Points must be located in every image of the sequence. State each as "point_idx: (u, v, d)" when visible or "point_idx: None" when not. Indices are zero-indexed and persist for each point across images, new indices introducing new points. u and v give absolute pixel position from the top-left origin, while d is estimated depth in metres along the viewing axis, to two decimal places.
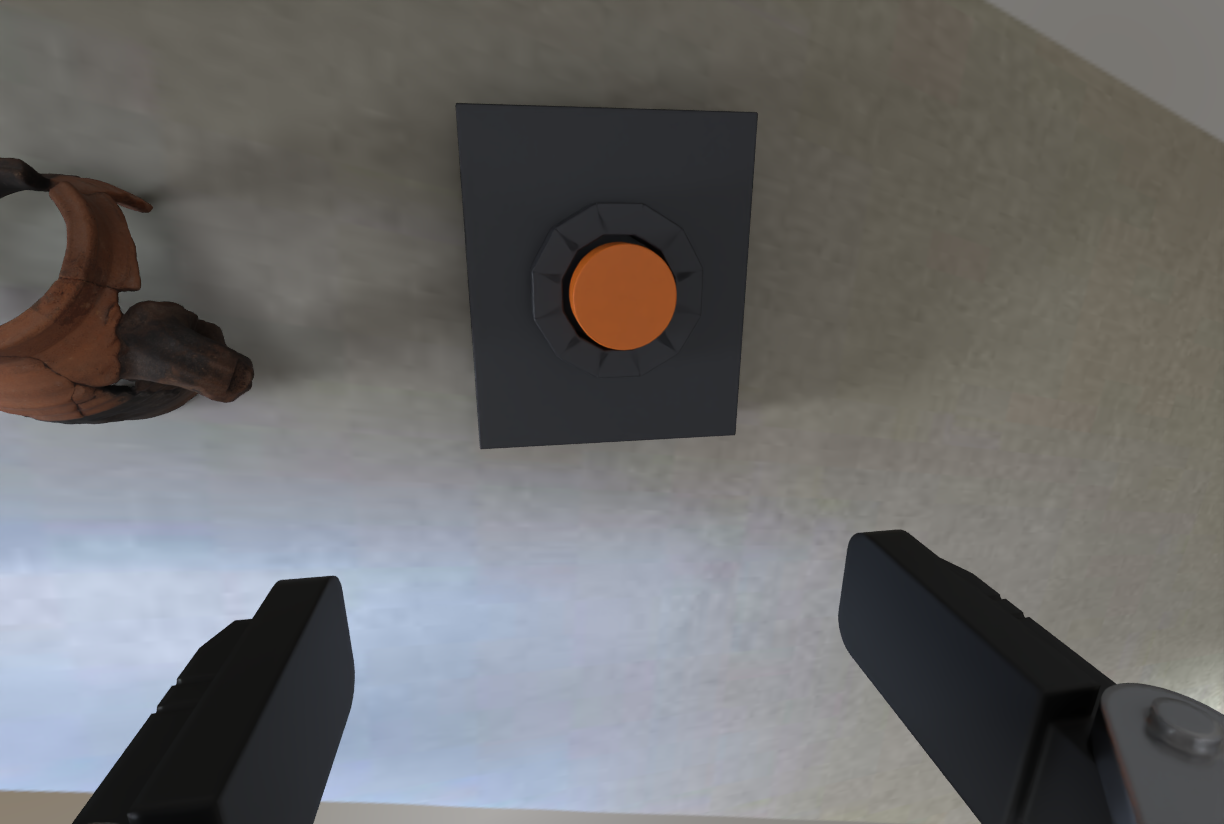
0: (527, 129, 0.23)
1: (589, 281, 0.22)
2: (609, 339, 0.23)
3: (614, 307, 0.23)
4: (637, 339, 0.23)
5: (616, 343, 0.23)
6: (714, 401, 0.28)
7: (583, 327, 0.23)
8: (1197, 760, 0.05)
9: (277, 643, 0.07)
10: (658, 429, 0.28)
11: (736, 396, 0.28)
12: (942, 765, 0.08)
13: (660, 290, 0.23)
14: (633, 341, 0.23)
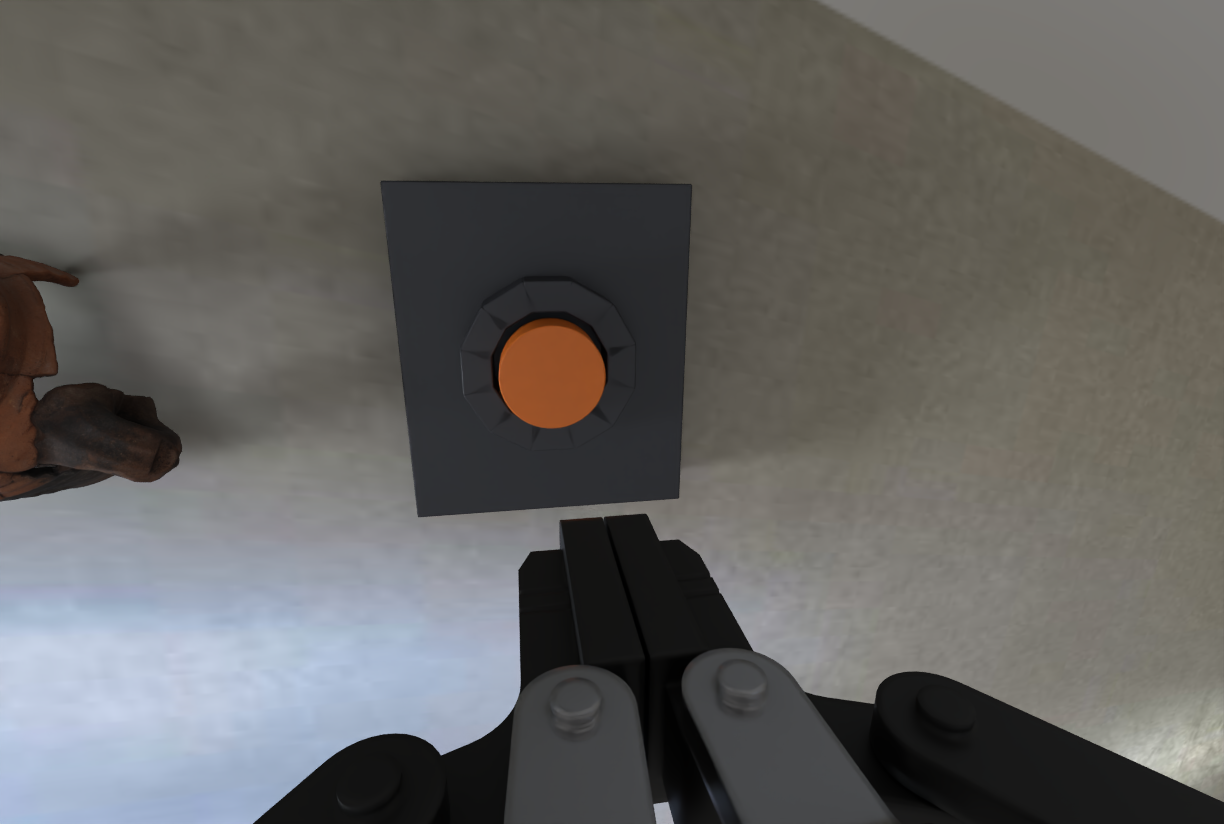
0: (455, 205, 0.23)
1: (515, 362, 0.22)
2: (537, 418, 0.23)
3: (542, 387, 0.22)
4: (566, 417, 0.23)
5: (545, 422, 0.23)
6: (656, 466, 0.28)
7: (510, 407, 0.22)
8: (730, 713, 0.06)
9: (600, 562, 0.08)
10: (599, 494, 0.28)
11: (678, 461, 0.28)
12: None
13: (588, 369, 0.22)
14: (562, 419, 0.23)
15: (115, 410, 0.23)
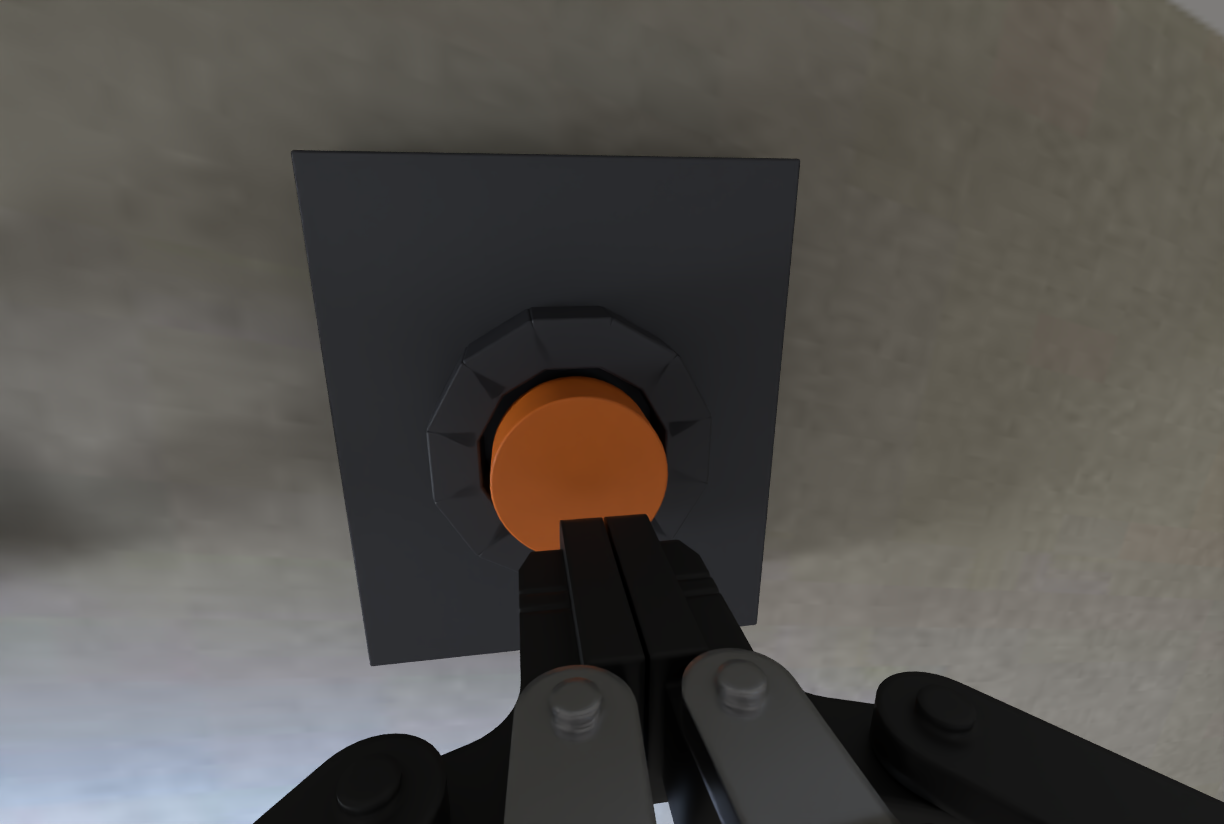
0: (417, 191, 0.14)
1: (517, 459, 0.13)
2: (555, 545, 0.14)
3: (563, 497, 0.13)
4: None
5: None
6: (726, 582, 0.19)
7: (510, 529, 0.13)
8: (730, 713, 0.06)
9: (599, 562, 0.08)
10: None
11: (759, 573, 0.19)
12: None
13: (640, 467, 0.13)
14: None
15: None
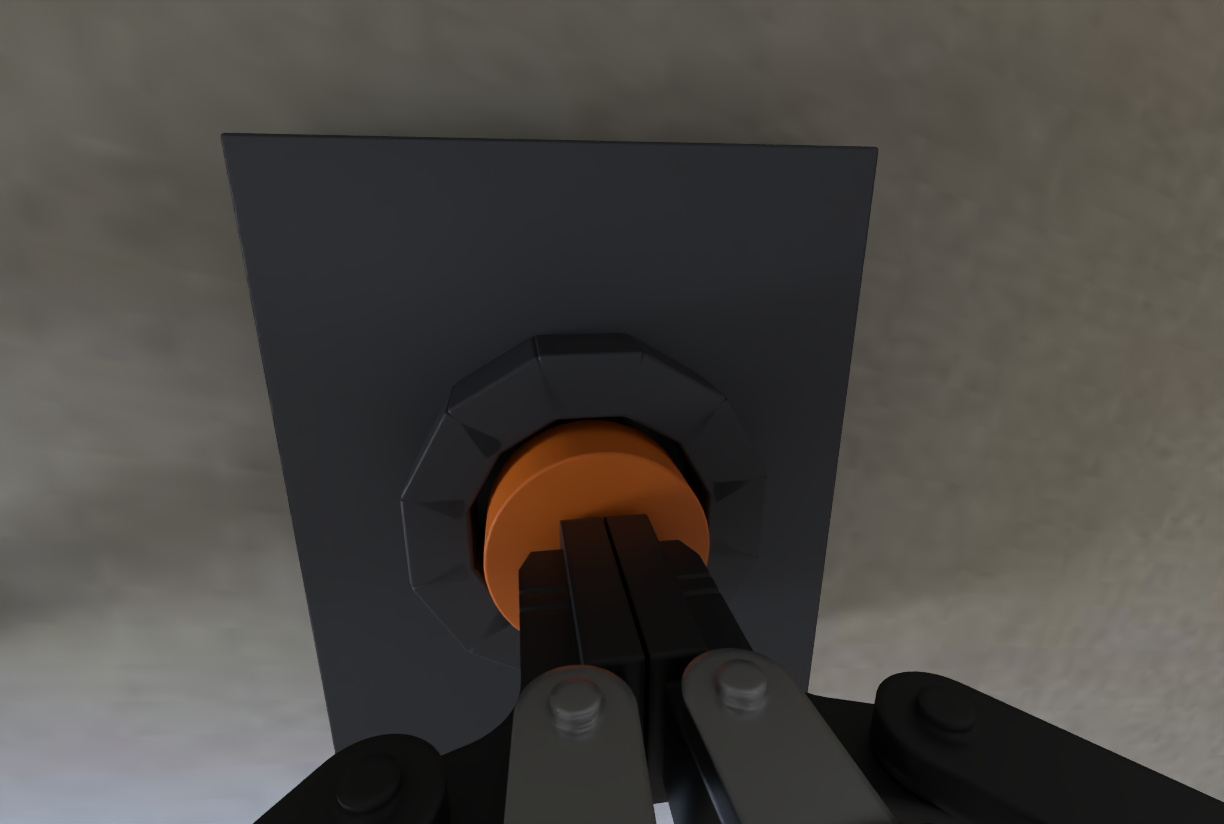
0: (389, 188, 0.11)
1: (519, 532, 0.10)
2: None
3: None
4: None
5: None
6: None
7: (509, 618, 0.11)
8: (729, 713, 0.06)
9: (600, 562, 0.08)
10: None
11: (810, 650, 0.15)
12: None
13: (674, 538, 0.11)
14: None
15: None
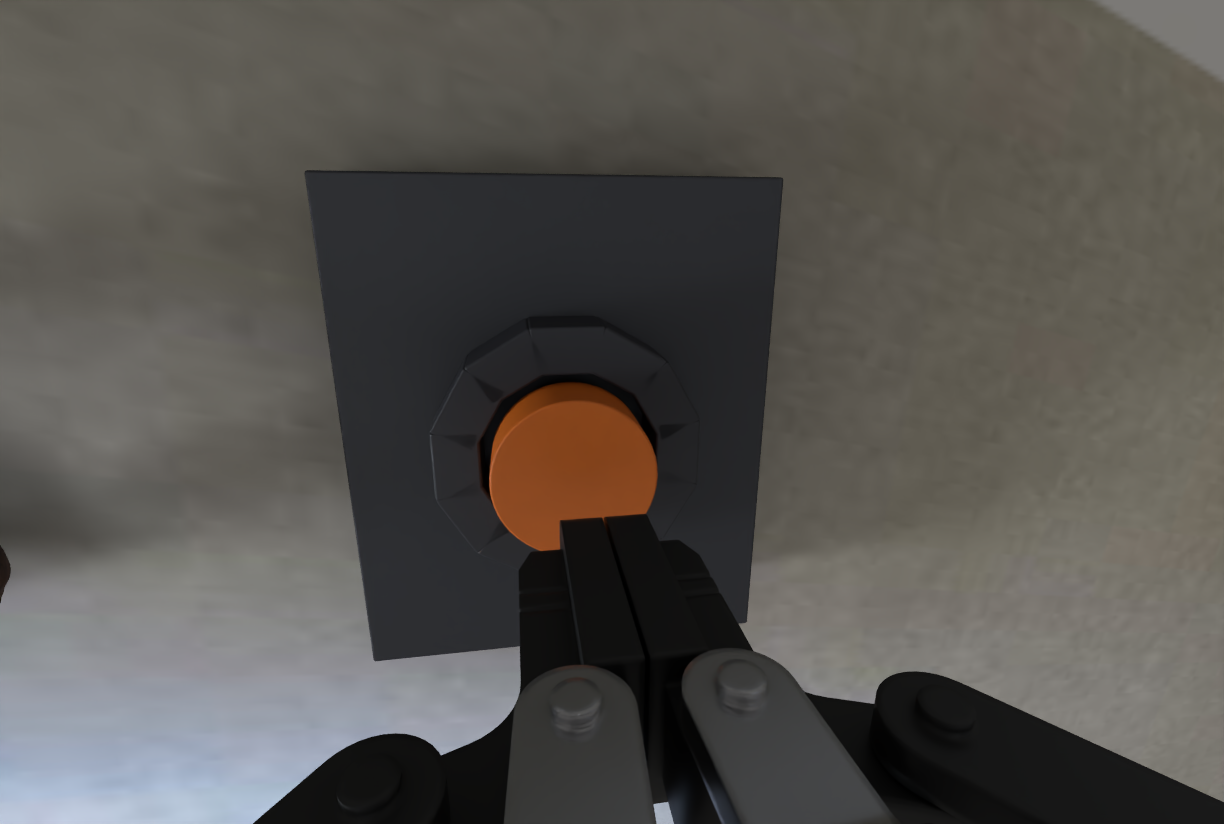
0: (422, 208, 0.15)
1: (515, 459, 0.14)
2: (550, 541, 0.14)
3: (558, 496, 0.14)
4: None
5: None
6: (716, 581, 0.19)
7: (508, 526, 0.14)
8: (730, 713, 0.06)
9: (599, 562, 0.08)
10: None
11: (748, 573, 0.19)
12: None
13: (630, 467, 0.14)
14: None
15: None
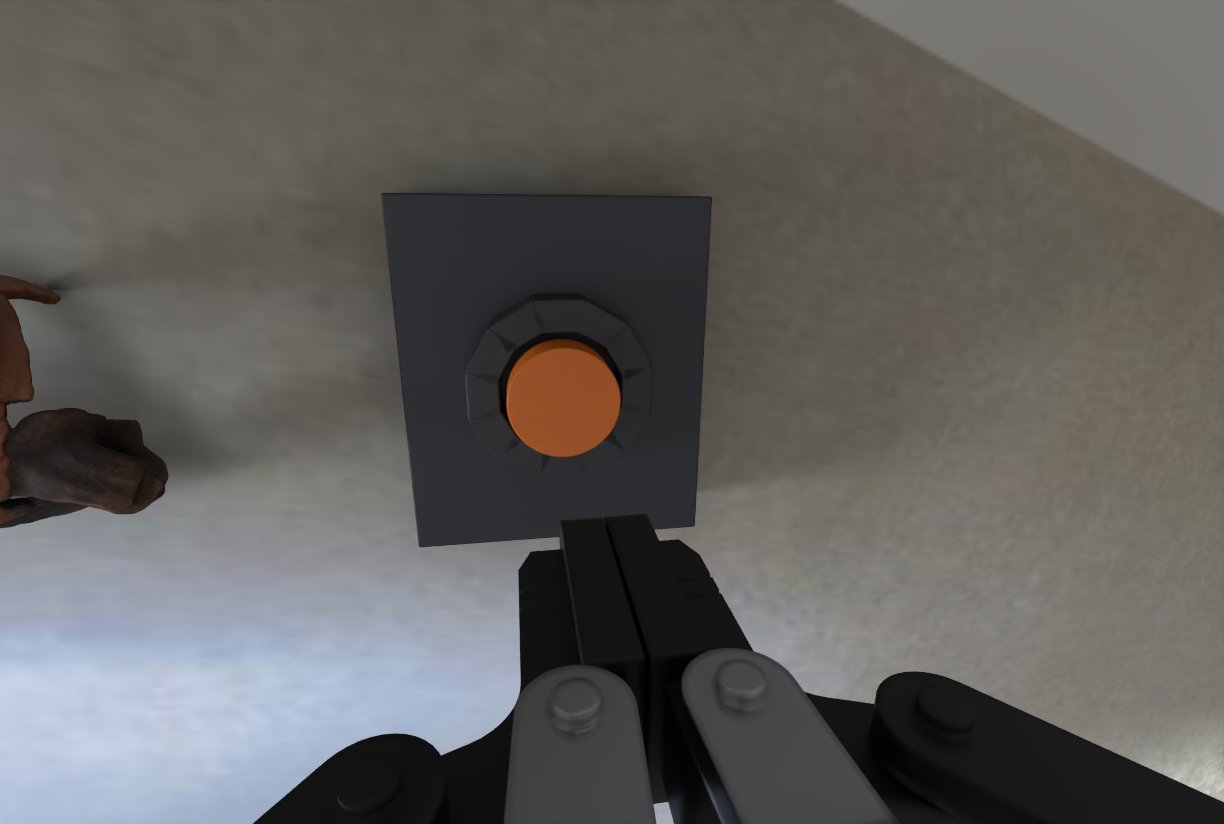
0: (460, 218, 0.21)
1: (524, 387, 0.20)
2: (547, 446, 0.21)
3: (553, 414, 0.21)
4: (578, 445, 0.21)
5: (555, 450, 0.21)
6: (671, 493, 0.26)
7: (519, 434, 0.21)
8: (730, 713, 0.06)
9: (599, 561, 0.08)
10: None
11: (694, 487, 0.26)
12: None
13: (602, 394, 0.21)
14: (574, 447, 0.21)
15: (96, 436, 0.21)
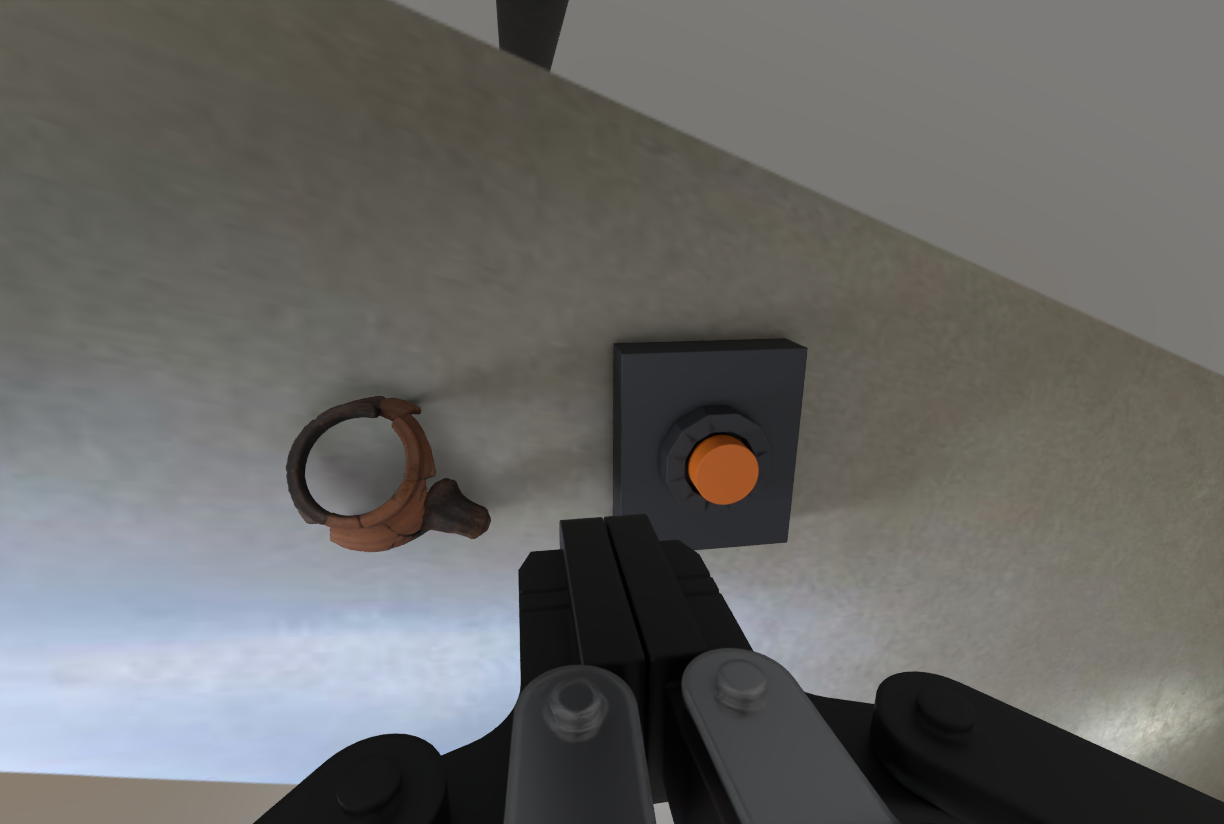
0: (664, 365, 0.37)
1: (706, 466, 0.36)
2: (716, 498, 0.36)
3: (720, 480, 0.36)
4: (733, 498, 0.37)
5: (720, 501, 0.37)
6: (774, 522, 0.41)
7: (700, 492, 0.36)
8: (730, 713, 0.06)
9: (599, 562, 0.08)
10: (736, 540, 0.41)
11: (788, 518, 0.41)
12: None
13: (748, 469, 0.36)
14: (730, 499, 0.37)
15: None
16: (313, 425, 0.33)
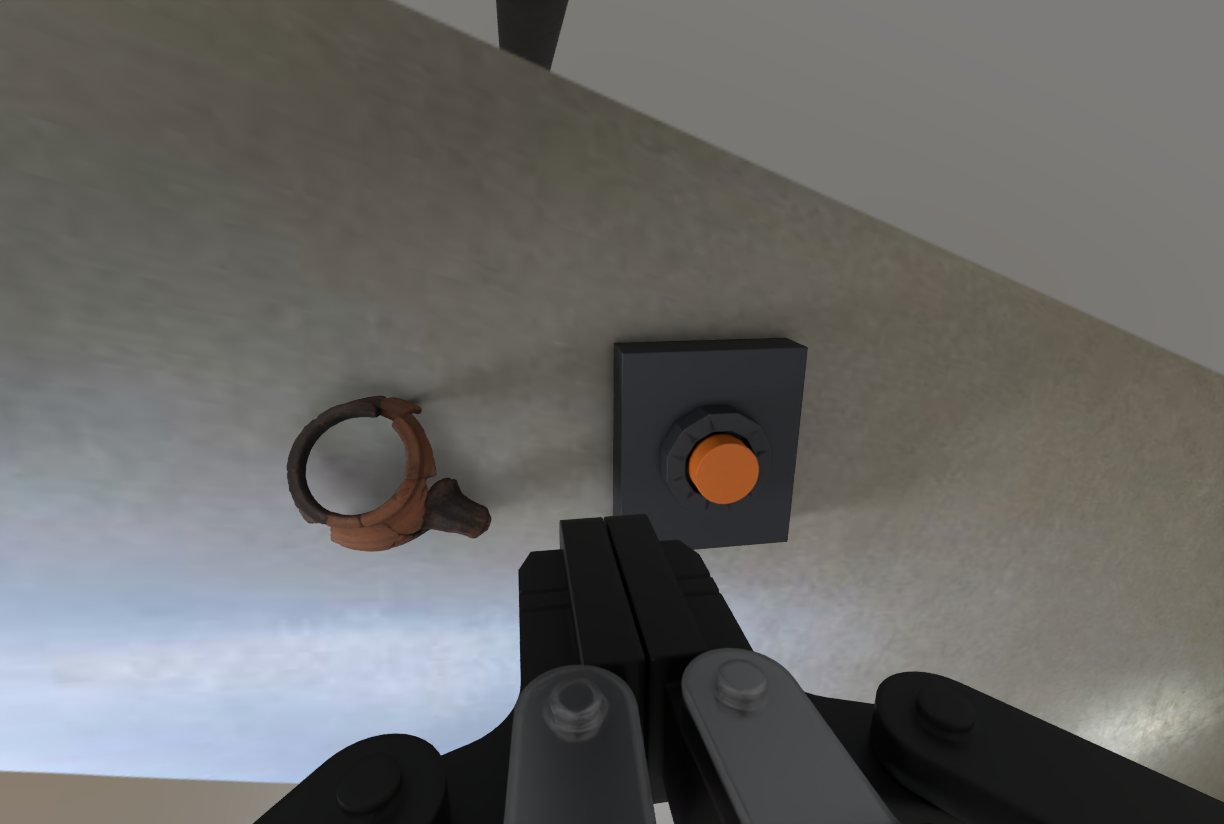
0: (664, 365, 0.37)
1: (706, 465, 0.36)
2: (716, 498, 0.36)
3: (721, 480, 0.36)
4: (733, 497, 0.37)
5: (720, 500, 0.37)
6: (774, 521, 0.41)
7: (701, 491, 0.36)
8: (730, 713, 0.06)
9: (599, 562, 0.08)
10: (736, 539, 0.41)
11: (788, 517, 0.42)
12: None
13: (749, 468, 0.36)
14: (731, 498, 0.37)
15: None
16: (313, 425, 0.33)
